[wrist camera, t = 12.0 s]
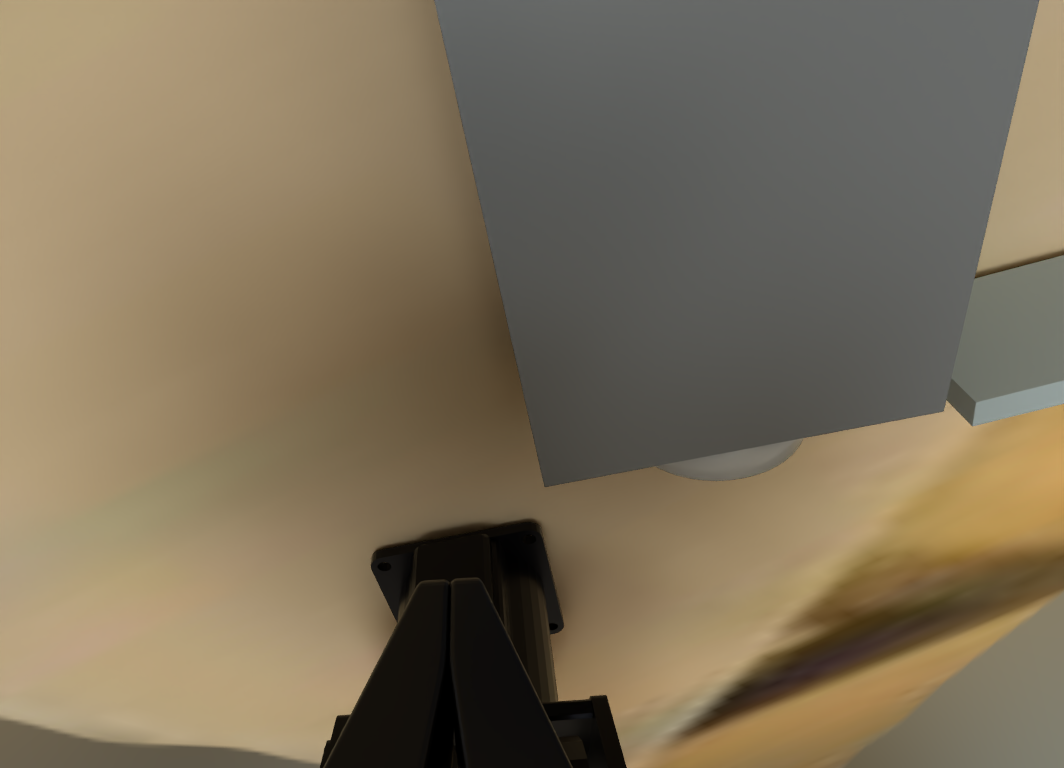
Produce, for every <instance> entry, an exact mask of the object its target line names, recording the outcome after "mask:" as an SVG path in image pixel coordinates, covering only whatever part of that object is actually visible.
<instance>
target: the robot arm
mask: <svg viewBox="0 0 1064 768" xmlns="http://www.w3.org/2000/svg"><path fill="white" fill-rule="evenodd" d="M526 535H531V536H526ZM383 562H387V563H383ZM371 569H372V572H373V574H374V576H375V578H376V580H377V582H378V584H379V586H380V588H381V590H382V592H383V594H384V596H385V598H386V601H387V603H388V605H389V607H390V609H391V611H392V613H393V615H394V617H395V619H396V621H397V625H396V627H395V629H394V631H393V633H392V635H391V637H390V639H389V641H388V643H387V645H386V647H385V649H384V651H383V653H382V655H381V657H380V658H379V660H378V662H377V664H376V666H375V668H374V670H373V672H372V674H371V676H370V678H369V680H368V682H367V684H366V686H365V688H364V690H363V692H362V693H361V695H360V697H359V699H358V701H357V703H356V705H355V707H354V709H353V711H352V713H351V715H338V716H337V718H336V721H335V725H334V729H333V733H332V737H331V740H328V741H327V742H326V746H325V748H324V754H323V757H322V761H321V765H320V768H627V767H626V764H625V760H624V757H623V753H622V749H621V746H620V742H619V739H618V735H617V732H616V728H615V724H614V721H613V717H612V714H611V710H610V706H609V703H608V699H607V696H606V695H600V696H590V698H589V699H586V700H573V701H560V702H558V695H557V687H556V679H555V671H554V663H553V655H552V647H551V639H550V634H555V633H558V632H560V631H561V630H562V629H563V628H564V623H563V616H562V612H561V608H560V604H559V600H558V596H557V592H556V587H555V583H554V579H553V575H552V571H551V567H550V563H549V559H548V554H547V550H546V546H545V542H544V538H543V534H542V530H541V528H540V526H539V525H538V524H536V523H533V522H525V523H520V524H515V525H509V526H504V527H499V528H493V529H488V530H483V531H477V532H472V533H467V534H462V535H456V536H451V537H446V538H440V539H435V540H430V541H424V542H419V543H414V544H409V545H403V546H398V547H393V548H387V549H382V550H379V551H376V552H375V553H374V554H373V556H372V560H371Z"/></svg>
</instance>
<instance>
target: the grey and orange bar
mask: <svg viewBox="0 0 1064 768" xmlns="http://www.w3.org/2000/svg"><path fill="white" fill-rule="evenodd" d="M946 400H947V401H948V402H949V403H950V404H951V405H952V406H953V407H954V408H955V409H956V410H957V411H958V412H959V413H960V414H961V415H962V416H963V417H964V418H965V419H966V420H967V421H968V422H969V423H970V424H971V425H972V426H976V425H980V424H984V423H988V422H992V421H996V420H1000V419H1004V418H1008V417H1012V416H1016V415H1020V414H1024V413H1028V412H1032V411H1036V410H1040V409H1044V408H1048V407H1052V406H1056V405H1060V404H1064V255H1062V256H1058V257H1054V258H1051V259H1047V260H1043V261H1039V262H1036V263H1032V264H1028V265H1024V266H1020V267H1017V268H1013V269H1009V270H1005V271H1002V272H998V273H994V274H990V275H986V276H983V277H979V278H975V279H974V283H973V287H972V291H971V296H970V300H969V304H968V309H967V313H966V317H965V321H964V326H963V330H962V334H961V339H960V343H959V347H958V352H957V356H956V360H955V364H954V369H953V373H952V377H951V382H950V386H949V390H948V395H947V399H946Z"/></svg>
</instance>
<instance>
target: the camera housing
mask: <svg viewBox="0 0 1064 768" xmlns="http://www.w3.org/2000/svg"><path fill="white" fill-rule="evenodd" d="M434 1H435V5H436V10H437V14H438V19H439V23H440V27H441V32H442V36H443V41H444V45H445V50H446V54H447V58H448V63H449V67H450V72H451V76H452V80H453V85H454V89H455V94H456V98H457V103H458V107H459V111H460V116H461V120H462V125H463V129H464V133H465V138H466V142H467V147H468V151H469V156H470V160H471V164H472V169H473V173H474V178H475V182H476V186H477V191H478V195H479V200H480V204H481V208H482V213H483V217H484V222H485V226H486V231H487V235H488V239H489V244H490V248H491V253H492V257H493V261H494V266H495V270H496V275H497V279H498V284H499V288H500V292H501V297H502V301H503V306H504V310H505V314H506V319H507V323H508V328H509V332H510V337H511V341H512V345H513V350H514V354H515V359H516V363H517V367H518V372H519V376H520V381H521V385H522V389H523V394H524V398H525V403H526V407H527V412H528V416H529V420H530V425H531V429H532V434H533V438H534V442H535V447H536V451H537V456H538V460H539V465H540V469H541V473H542V478H543V482H544V487H548V486H554V485H559V484H564V483H569V482H575V481H580V480H585V479H591V478H596V477H601V476H606V475H612V474H617V473H622V472H627V471H633V470H638V469H643V468H648V467H654V466H656V467H658V468H660V469H662V470H664V471H666V472H669V473H672V474H675V475H678V476H682V477H686V478H690V479H697V480H708V481H724V480H735V479H742V478H746V477H750V476H754V475H757V474H760V473H763V472H766V471H768V470H770V469H772V468H774V467H776V466H778V465H779V464H781V463H782V462H784V461H785V460H787V459H788V458H789V457H790V456H791V455H792V454H793V453H794V452H795V451H796V450H797V449H798V447H799V446H800V444H801V442H802V441H803V438H806V437H812V436H817V435H822V434H827V433H833V432H838V431H843V430H849V429H854V428H859V427H864V426H870V425H875V424H880V423H885V422H891V421H896V420H901V419H906V418H912V417H917V416H922V415H928V414H933V413H938V412H943V411H944V407H945V403H946V399H947V395H948V390H949V386H950V382H951V377H952V373H953V369H954V364H955V360H956V356H957V352H958V347H959V343H960V339H961V334H962V330H963V326H964V321H965V317H966V313H967V309H968V304H969V300H970V296H971V291H972V287H973V283H974V278H975V274H976V270H977V266H978V261H979V257H980V253H981V248H982V244H983V240H984V235H985V231H986V227H987V222H988V218H989V214H990V210H991V205H992V201H993V197H994V192H995V188H996V184H997V179H998V175H999V171H1000V167H1001V162H1002V158H1003V154H1004V149H1005V145H1006V141H1007V136H1008V132H1009V128H1010V124H1011V119H1012V115H1013V111H1014V106H1015V102H1016V98H1017V93H1018V89H1019V85H1020V81H1021V76H1022V72H1023V68H1024V63H1025V59H1026V55H1027V50H1028V46H1029V42H1030V38H1031V33H1032V29H1033V25H1034V20H1035V16H1036V12H1037V7H1038V3H1039V0H434Z"/></svg>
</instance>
